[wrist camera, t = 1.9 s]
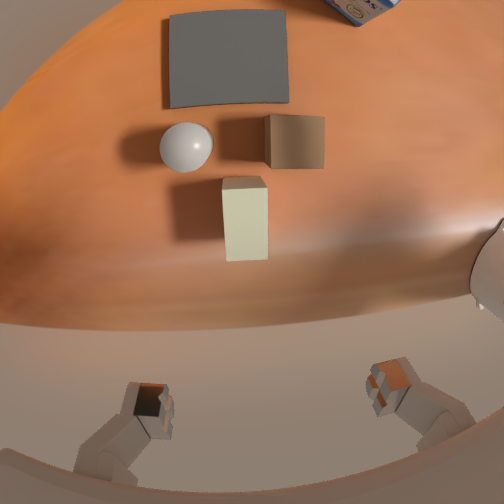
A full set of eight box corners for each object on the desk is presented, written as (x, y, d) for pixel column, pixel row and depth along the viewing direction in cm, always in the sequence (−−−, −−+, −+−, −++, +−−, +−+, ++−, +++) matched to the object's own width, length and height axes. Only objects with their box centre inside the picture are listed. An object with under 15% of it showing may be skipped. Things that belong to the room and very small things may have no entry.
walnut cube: (309, 117, 28) (324, 116, 24) (309, 161, 30) (324, 168, 26) (263, 116, 28) (270, 114, 23) (264, 162, 30) (271, 169, 25)
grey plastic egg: (212, 121, 27) (208, 120, 22) (214, 161, 29) (211, 170, 24) (171, 125, 27) (157, 125, 22) (174, 165, 29) (161, 174, 24)
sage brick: (260, 176, 30) (267, 187, 25) (261, 235, 33) (267, 259, 28) (223, 177, 30) (221, 189, 25) (226, 237, 33) (226, 261, 28)
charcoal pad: (283, 13, 22) (285, 10, 22) (287, 103, 27) (289, 102, 26) (171, 18, 22) (169, 15, 21) (172, 108, 26) (170, 108, 26)
